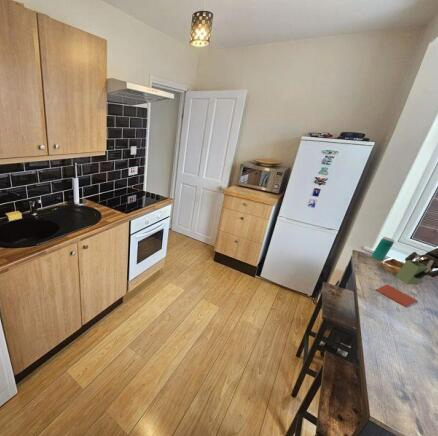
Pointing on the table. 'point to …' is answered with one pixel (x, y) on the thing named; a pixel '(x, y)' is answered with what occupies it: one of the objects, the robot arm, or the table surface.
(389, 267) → the rattan basket
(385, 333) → the table surface
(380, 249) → the beverage can
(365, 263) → the table surface
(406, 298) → the mat
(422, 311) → the table surface
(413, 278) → the green basket
